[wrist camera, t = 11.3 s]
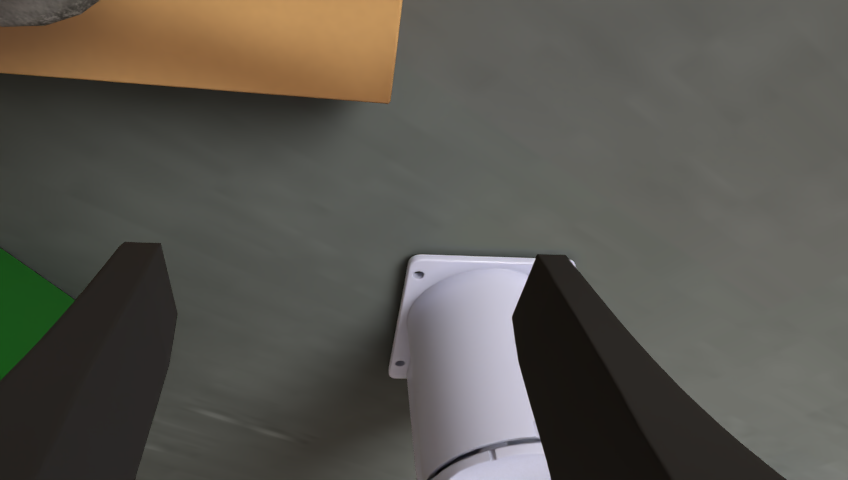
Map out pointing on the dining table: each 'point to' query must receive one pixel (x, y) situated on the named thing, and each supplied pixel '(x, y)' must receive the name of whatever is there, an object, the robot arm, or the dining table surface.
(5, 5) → the grey stone finial
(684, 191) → the dining table surface
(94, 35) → the shelf stand
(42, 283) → the milk carton
